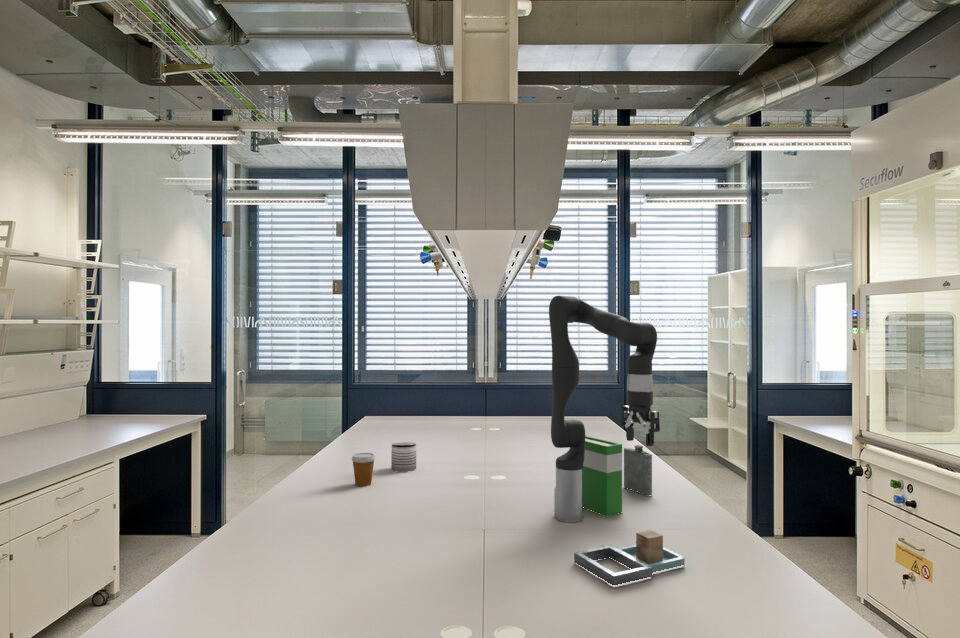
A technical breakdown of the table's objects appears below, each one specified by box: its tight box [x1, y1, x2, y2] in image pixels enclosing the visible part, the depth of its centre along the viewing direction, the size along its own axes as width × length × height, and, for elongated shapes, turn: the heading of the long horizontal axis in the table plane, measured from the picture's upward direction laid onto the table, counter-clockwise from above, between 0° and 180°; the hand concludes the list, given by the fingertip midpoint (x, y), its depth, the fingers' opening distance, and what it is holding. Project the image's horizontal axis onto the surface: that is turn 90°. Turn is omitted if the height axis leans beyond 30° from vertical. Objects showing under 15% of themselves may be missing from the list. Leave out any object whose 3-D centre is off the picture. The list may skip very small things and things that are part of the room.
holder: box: [573, 544, 653, 585], centre depth 155 cm, size 17×12×3 cm
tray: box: [617, 544, 685, 573], centre depth 161 cm, size 13×13×2 cm
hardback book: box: [583, 435, 623, 517], centre depth 209 cm, size 18×7×24 cm, turn 33°
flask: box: [623, 444, 653, 496], centre depth 230 cm, size 4×14×18 cm, turn 28°
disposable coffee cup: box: [351, 452, 376, 487], centre depth 239 cm, size 10×10×12 cm
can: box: [390, 441, 417, 473], centre depth 264 cm, size 11×11×12 cm
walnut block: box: [635, 529, 664, 564], centre depth 161 cm, size 5×5×7 cm
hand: (639, 443), depth 175 cm, fingers open, 8 cm apart
